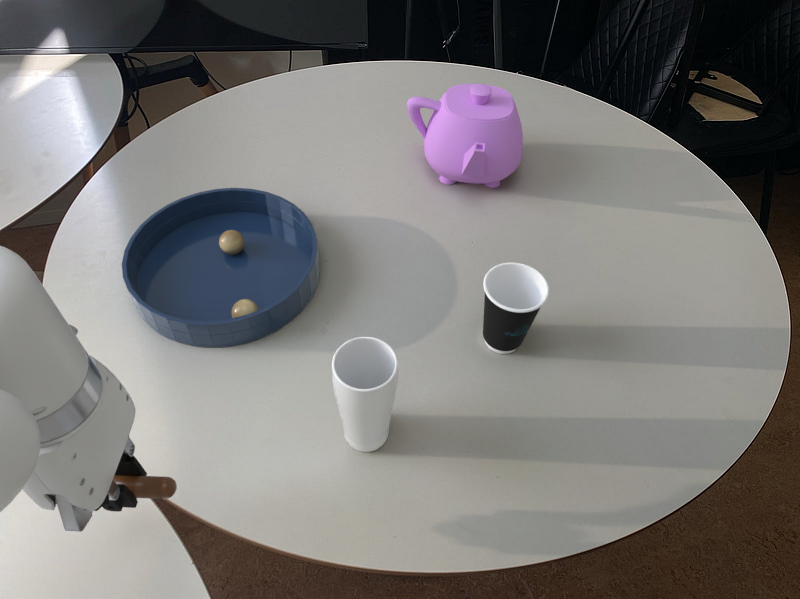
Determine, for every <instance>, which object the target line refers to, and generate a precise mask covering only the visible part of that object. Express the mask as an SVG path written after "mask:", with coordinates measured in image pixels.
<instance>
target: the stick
mask: <svg viewBox="0 0 800 599" xmlns="http://www.w3.org/2000/svg"><path fill="white" fill-rule="evenodd" d="M113 480H114V481H115V482H116V484H123V485H126V486H127V487H128V489H129V490H130V491H131V492H132V494H133V495H134V497H135V498H137V499H149V500H151V499H154V500H167V499H170V498H171V497H173V496H174V495H175V494H176V492H177V489H178V486H177V482H176V480H175V479H174V478H173V477H170V476H160V475H159V476H156V475H147V476H130V475H114V478H113Z"/></svg>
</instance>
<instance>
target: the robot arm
mask: <svg viewBox="0 0 800 599" xmlns="http://www.w3.org/2000/svg"><path fill="white" fill-rule="evenodd" d="M78 333H79V330H78V328H77V327H75V326H74V325H72V324H69V323H68V321H67V320H66V318H65V316H64V315H63V314H62V312H61V311H60V309H59V308H58V306H57V305H56V303H55V302H54V300H53V299H52V296H50V294H49V293H48V291H47V290H46V289H45V287H44V285H43V284H42V281H40V279H39V278H38V276H37V275H36V273H35V272H34V270H33V269H32V267H30V265H29V264H28V263H27V261H26V260H25V259H24V258H22V256H20V255H19V254H18V253H16V252H15V251H13V250H11V249H9V248H7V247H5V246H2V245H0V513H2V512H3V511H4V510H5V508H7V507H8V506H9V505H10V504H11V503H12V502H13V501H14V500H15V499H16V498H17V496H18V495H19V494H20V493H21V492H22V491H23V492H24V493H25V494H26V495H27V496H28V497H29V498H30V499H31V500H32V501H33V502H34V504H36V505H37V506H38V507H40V508H41V509H44V510H49V511H55V509H56V507H57V508H58V513H59V516H60V519H61V522H62V525H63V528H64V530H65V531H66V532H78V533H81V532H83V531H84V530H85V528H86V527H87V525H88V524H89V522H90V520H91V519H92V517H93V513H94V512H97V511H99V510H100V509H101V508H103V509H104V510H106V511H107V512H117V513H118V512H122V510H123V508H129V509H135V508H137V506H138V503H139V501H138V498H135V497H134V495H133V494H132V492H131V491H130V490H129V489H128V487H127V486H126V485H123V484H116V482H115V481H114V480H113V478H114V475H130V476H148V473H147V471H146V469H145V468H144V467H143V466H142V464H141V463H140V461H139V460H138V459H137V457H136V456H135V455H134V454H135V450H136V444H135V443H134V442H133V440H132V439H131V438H130V433H131V432H132V427H133V426H134V425H133V424H134V422H135V417H136V406H135V403H134V401H133V399H132V397H131V395H130V393H129V392H128V390H127V389H126V387H125V386H124V384H123V383H122V382H121V381H120V379H119V378H118V377H117V376H116V375H115V374H114V372H112V371H111V370H110V369H109V368H108V367H107V366H106V365H104V364H103V363H102V362H101V361H100V360H98V359H96V358H95V357H94V356H92V355H90V354H89V353H88V351H87V350H86V349H85V347H84V345H83V344H82V343H81V341H80V340H79V338H78V336H77V335H78Z"/></svg>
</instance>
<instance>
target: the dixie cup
mask: <svg viewBox="0 0 800 599" xmlns="http://www.w3.org/2000/svg"><path fill="white" fill-rule="evenodd" d="M482 282H483V284H482V285H483V291H484V302H483V303H484V305H483V322H482V337H483V340H484V343H485V345H486V346H487V348H488V349H489V350H491V351H492V352H493V353H496V354H500V355H508V354H509V355H510V354H511V353H514V352H515V351H516V350H517V349H518V348H520V346H521V345H522V344H523V342H524V340H525V338H526V336H527V335H528V332H529V331H530V329H531V326H532V325H533V323H534V321H535V320H536V318H537V316H538V314H539V311H540V310H541V308H542V307H543V306H544V304H545V303H546V302H547V301H548V299H549V295H550V286H549V282H548V281H547V280H546V277H545V276H544V275H543V274H542V273H541V272H540V271H539V270H538V269H536V268H534V267H532V266H530V265H528V264H526V263H525V264H524V263H520V262H512V261H511V262H503V263H499V264H497V265H495V266H493V267H491V268H490V269H489V270H488V271H487V272H486V274H485V275H484V277H483V281H482Z"/></svg>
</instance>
